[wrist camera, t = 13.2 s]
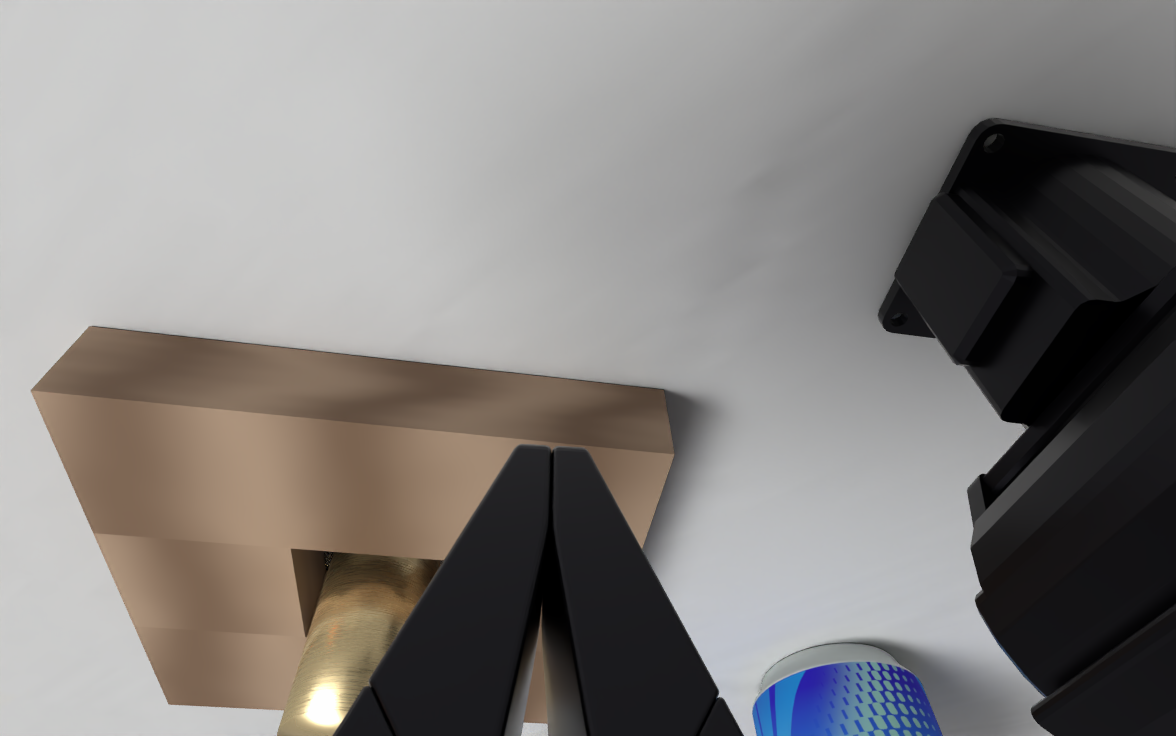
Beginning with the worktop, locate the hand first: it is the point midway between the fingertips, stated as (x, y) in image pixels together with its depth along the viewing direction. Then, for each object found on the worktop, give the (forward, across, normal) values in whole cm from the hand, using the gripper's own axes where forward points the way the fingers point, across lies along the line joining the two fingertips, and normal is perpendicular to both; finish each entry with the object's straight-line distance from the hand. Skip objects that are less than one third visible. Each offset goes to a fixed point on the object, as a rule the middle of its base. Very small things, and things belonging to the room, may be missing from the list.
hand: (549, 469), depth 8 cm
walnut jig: (+12, +6, +17) cm, 21 cm away
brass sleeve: (+12, +6, +17) cm, 21 cm away
